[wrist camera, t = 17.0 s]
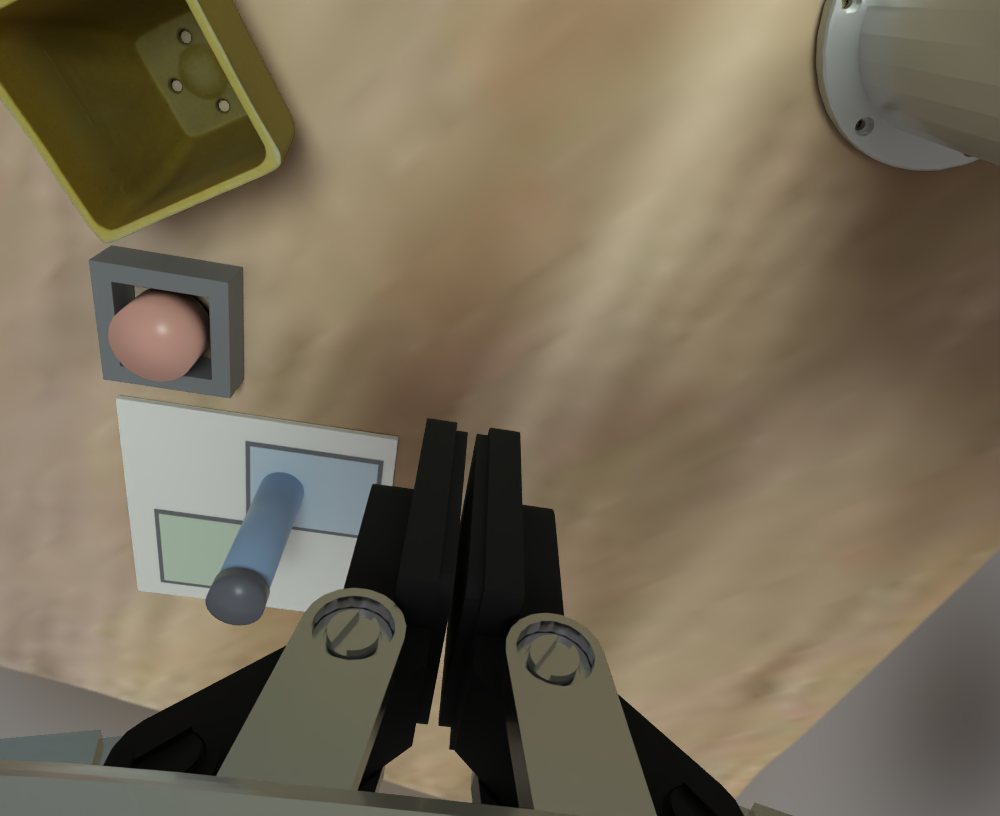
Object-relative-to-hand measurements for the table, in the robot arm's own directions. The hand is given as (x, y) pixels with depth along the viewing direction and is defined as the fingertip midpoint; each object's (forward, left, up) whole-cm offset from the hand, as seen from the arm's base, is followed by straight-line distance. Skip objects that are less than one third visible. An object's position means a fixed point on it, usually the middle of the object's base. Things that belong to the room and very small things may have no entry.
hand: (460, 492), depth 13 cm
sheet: (+12, +25, -27) cm, 39 cm away
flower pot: (+14, -2, -27) cm, 31 cm away
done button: (+16, +11, -26) cm, 32 cm away
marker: (+10, +22, -26) cm, 36 cm away
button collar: (+16, +11, -27) cm, 33 cm away
